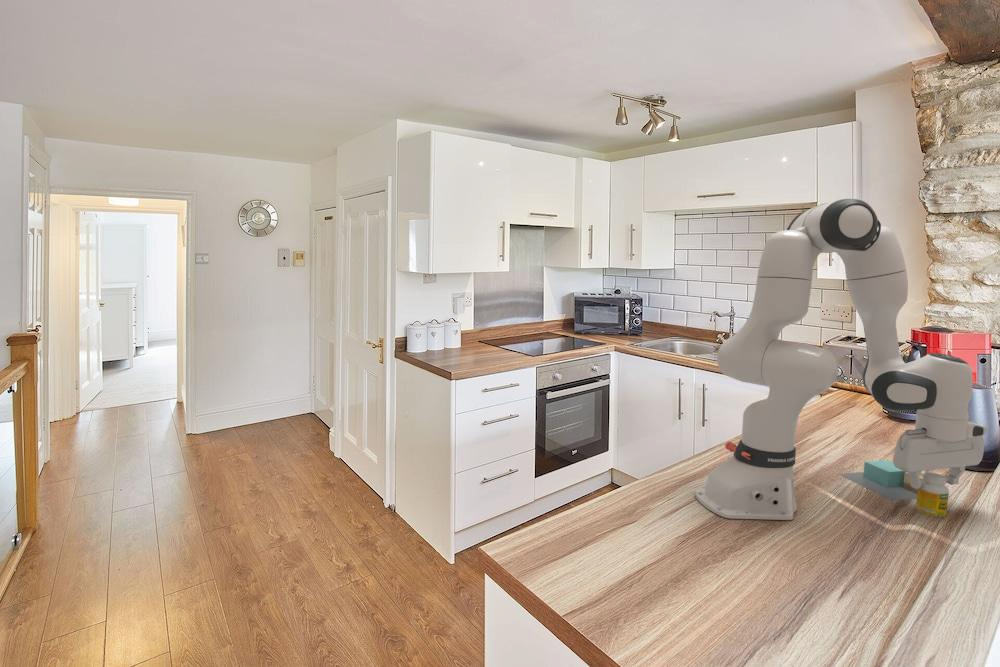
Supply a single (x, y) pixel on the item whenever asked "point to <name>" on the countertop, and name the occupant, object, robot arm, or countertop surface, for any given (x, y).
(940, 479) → the supplement bottle
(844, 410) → the countertop surface
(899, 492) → the plate
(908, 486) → the brick
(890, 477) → the base brick
